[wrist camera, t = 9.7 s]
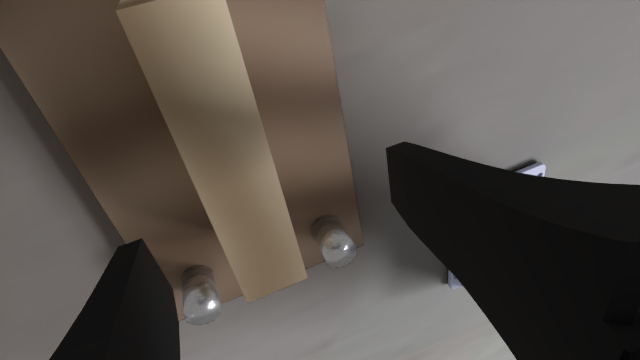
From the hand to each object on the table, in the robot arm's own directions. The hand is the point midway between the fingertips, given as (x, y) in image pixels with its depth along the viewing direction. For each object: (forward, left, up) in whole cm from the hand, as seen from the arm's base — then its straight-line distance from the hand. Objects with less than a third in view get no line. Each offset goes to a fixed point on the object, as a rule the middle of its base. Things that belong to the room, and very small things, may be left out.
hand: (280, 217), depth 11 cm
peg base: (0, +1, -9) cm, 9 cm away
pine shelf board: (0, +1, -8) cm, 8 cm away
